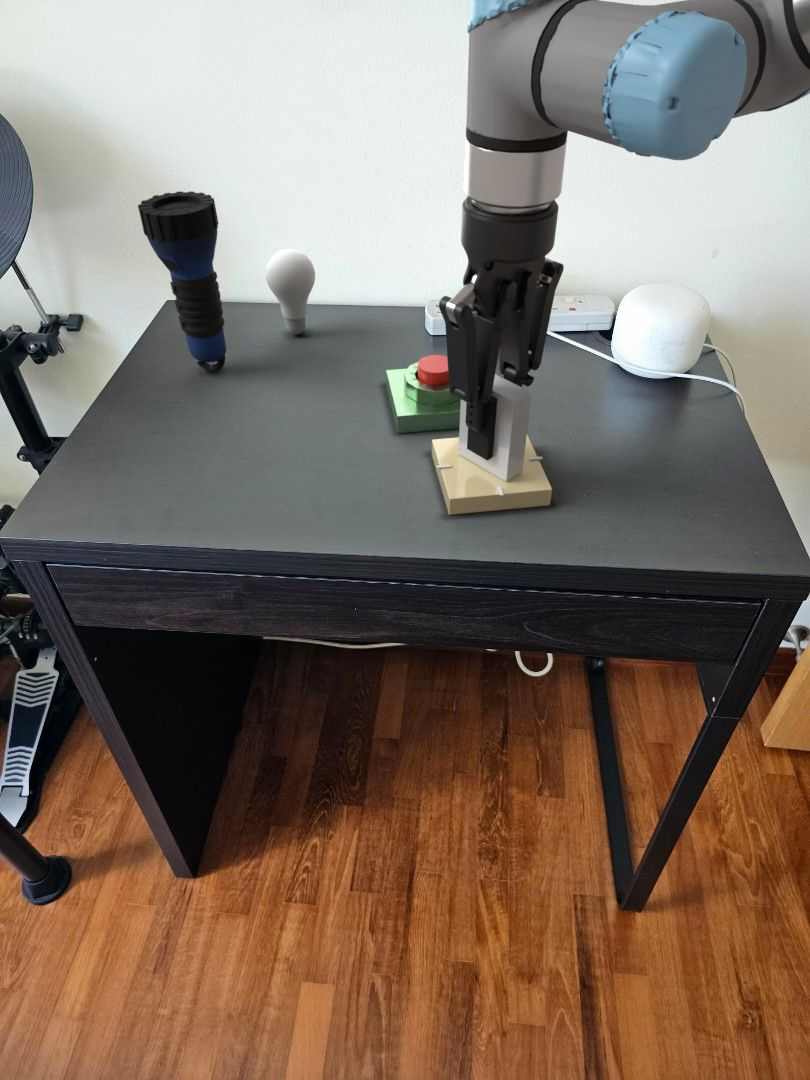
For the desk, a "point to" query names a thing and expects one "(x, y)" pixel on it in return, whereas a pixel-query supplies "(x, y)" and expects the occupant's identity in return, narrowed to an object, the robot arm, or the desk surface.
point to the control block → (420, 402)
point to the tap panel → (487, 481)
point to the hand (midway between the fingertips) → (490, 446)
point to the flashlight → (190, 267)
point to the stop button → (433, 370)
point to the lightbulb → (291, 285)
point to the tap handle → (502, 430)
